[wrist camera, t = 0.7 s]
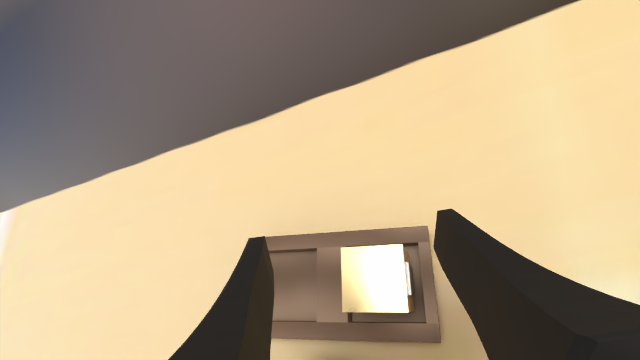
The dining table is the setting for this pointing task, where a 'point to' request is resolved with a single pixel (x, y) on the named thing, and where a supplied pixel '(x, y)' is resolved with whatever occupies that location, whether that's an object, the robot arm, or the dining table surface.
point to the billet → (377, 279)
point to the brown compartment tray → (326, 288)
